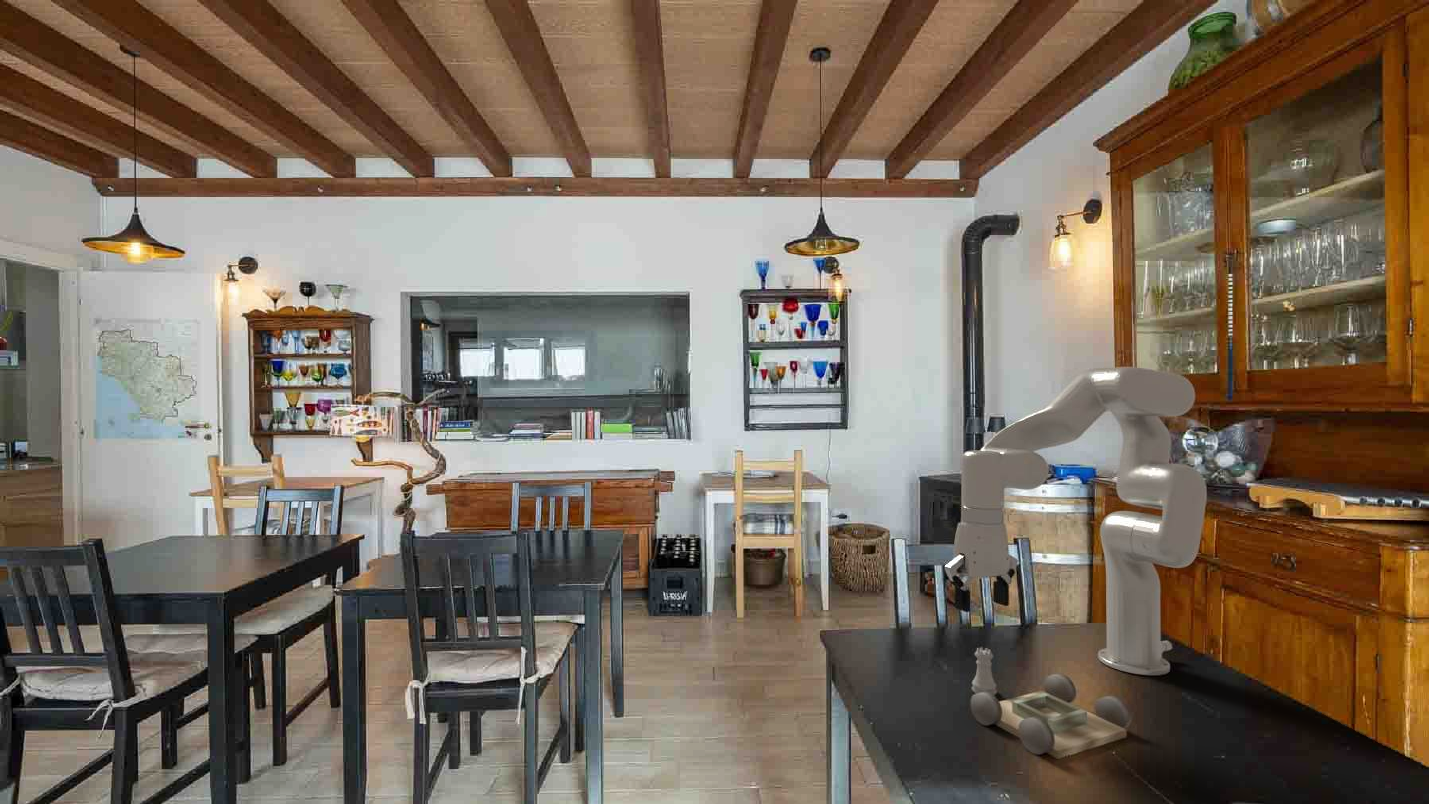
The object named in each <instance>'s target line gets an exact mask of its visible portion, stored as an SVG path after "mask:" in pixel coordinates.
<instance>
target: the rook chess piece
mask: <svg viewBox="0 0 1429 804" xmlns="http://www.w3.org/2000/svg"><path fill="white" fill-rule="evenodd" d="M974 656H975V657H976V658H977V659H976V661H975V663H976V666H977V667H976V673H975V676H974V679H973V680H972V682H971V685H972V687H971V690H972V691H973V693H974V694H977V693H981V692H985V691H987V692H990V693H992V694H993V695H994V696H996V695H997V693H998V690H997V684H996V682H995V680H994V678H993V674H992V666H993V663H992V662H991V661H992V660H993V658H994V654H993V653H992V650H991V649H989V648H988V647H985V648H983V647H980V648H979V647H977V648H976V651H975V652H974Z"/></svg>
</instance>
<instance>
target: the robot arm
mask: <svg viewBox="0 0 1429 804" xmlns="http://www.w3.org/2000/svg"><path fill="white" fill-rule="evenodd" d="M1195 400H1196V391H1195V388H1194V386H1193V384H1192V383H1191V382H1190V380H1189V379H1188V378H1186V377H1185V376H1183V375H1182V374H1179V373H1174V372H1173V373H1172V372H1168V371H1161V370H1156V369H1148V368H1143V367H1136V366H1118V367H1117V366H1116V367H1115V366H1114V367H1098V368H1091V369H1087V370H1084V371H1082V372H1081V373H1080V374H1078V375H1077V376H1076V377H1075V378H1074V379H1072V381H1070V383H1069V384H1067V385H1066V386H1065V387H1064V388H1063V389H1062V390H1061V391H1060V392H1059V393H1058V394H1057V395H1056V396H1055V397H1054V398H1053V399H1051V401H1050V402H1048V403H1047V405H1046V406H1045V407H1043V408H1042V409H1040V410H1039V411H1036V412H1034V413H1031V414H1030V415H1027V416H1026V417H1023V418H1022V419H1019V420H1017V421H1015V422H1014V423H1011V424H1010V425H1007V426H1005V427H1004V428H1002V429H1001V430H999V431H998V432H997V433H996V434H994V435H993V436H992V437H991V438H990V439H989V440H988V441H987V442H986V443H985V444H984V445H983V446H982V447H981V449H980V450H979V449H978V450H977V449H976V450H967V451H965V452H964V453H963V454H962V455H961V483H960V484H961V487H960V488H961V497H960V498H961V501H960V502H961V503H960V505H961V506H960V507H961V509H960V510H961V512H960V514H961V515H960V516H961V517H960V522H958V523H957V527H956V531H955V537H954V541H953V543H954V544H953V553H952V559H951V561H949V562H948V563H946V564H945V565H944V570H945V573H946V576H947V579H948V581H949V582H950V583H951V586H952V587H953V588H954V607H955V609H956V610H960V611H963V612H964V613H970V611H971V590H969V589H968V588H969V587H970V586H971V584H972V581H973V580H980V579H989V578H994V579H995V580H993V584H992V586H993V587H992V597H993V598H992V601H993V602H994V603H995V604H999V605H1001V606H1002V607H1003V606H1004V607H1009V605H1010V585H1011V584H1012V579H1013V577H1014V576H1015V574H1016V571H1015V570H1016V569H1017V566H1018V564H1019V560H1018V558H1016V557H1015V556H1013V555H1011V554H1010V551H1009V550H1010V549H1009V539H1008V531H1007V527H1006V523H1005V515H1006V510H1005V489H1017V490H1021V491H1022V490H1024V491H1026V490H1027V491H1028V490H1034V489H1037V488H1039V487H1041V486H1042V485H1043V484H1044V483H1045V481H1047V479H1048V476H1049V473H1050V472H1049V471H1050V470H1049V464H1048V462H1047V461H1046V459H1045V458H1044V457H1043V456H1042V455H1041V454H1039V453H1037V451H1040V450H1043V449H1044V450H1045V449H1047V448H1053V447H1059V446H1063V445H1065V444H1068V443H1069V444H1070V443H1071V442H1074V441H1076V440H1078V439H1079V438H1081V436H1082V435H1084V433H1086V431H1088V429H1089V428H1090V427H1091V426H1093V424H1094V423H1095V422H1097V420H1098V419H1099V418H1100V417H1101V416H1102V415H1103V414H1105V412H1108V411H1109V412H1111V414H1112V416H1114V418H1115V420H1116V421H1117V423H1118V424H1119V427H1120V429H1121V433H1122V446H1121V452H1120V459H1119V464H1118V472H1117V478H1116V493H1117V496H1118V497H1119V499H1121V500H1122V501H1123V502H1125V503H1127V504H1130V505H1133V506H1138V507H1144V508H1150V509H1154V510H1155V509H1156V510H1162V515H1161V516H1160V515H1155V514H1151V513H1144V512H1138V511H1132V510H1130V511H1129V510H1117V511H1113V512H1111V513H1109V514H1107V515H1106V516H1105V517H1104V519H1103V520H1102V522H1101V525H1100V528H1099V536H1100V542H1101V546H1102V550H1103V555H1104V562H1105V563H1104V564H1105V583H1106V584H1105V585H1106V586H1105V587H1106V588H1105V591H1106V592H1105V593H1106V594H1105V595H1106V596H1105V597H1106V599H1105V601H1106V602H1105V604H1106V607H1105V609H1106V612H1105V613H1106V618H1105V619H1106V622H1105V623H1106V647H1105V648H1102V649H1100V650H1099V651H1098V652H1097V653H1098V654H1097V656H1098V660H1099V661H1100V662H1101V663H1103V664H1104V665H1106V666H1108V667H1110V668H1112V669H1116V670H1118V671H1121V672H1126V673H1129V674H1134V675H1142V676H1162V675H1166V674H1168V673H1169V672H1170V671H1171V664H1170V663H1169V661H1168V660H1167V659H1166V658H1164V657H1163V654H1164V652H1165V651H1166V652H1167V651H1170V650H1172V649H1173V644H1172V642H1170V641H1169V640H1162V641H1161V580H1160V578H1159V577H1160V576H1159V574H1158V572H1157V569H1156V567H1155V566H1154V565H1155V564H1156V565H1160V566H1164V567H1167V568H1168V567H1169V568H1175V569H1181V568H1182V569H1183V568H1186V567H1188V566H1189V565H1191V564H1192V563H1193V562H1194V561H1195V559H1196V557H1197V555H1198V552H1199V549H1200V543H1201V539H1202V533H1203V532H1202V531H1203V525H1204V518H1205V512H1206V507H1207V497H1208V495H1207V492H1208V491H1207V485H1206V481H1205V478H1204V477H1203V475H1202V474H1201V473H1200V471H1199V470H1197V469H1196V468H1194V467H1193V466H1190V465H1187V464H1184V463H1183V464H1182V463H1171V462H1170V456H1171V447H1172V439H1171V436H1170V432H1169V431H1168V428H1167V427H1166V425H1165V424H1164V423H1163V421H1162V420H1161V418H1162V417H1165V418H1170V417H1171V418H1173V417H1174V418H1176V417H1180V416H1183V415H1184V414H1186V413H1188V412H1189V411H1190V410H1191V409H1192V407H1193V405H1194V403H1195Z"/></svg>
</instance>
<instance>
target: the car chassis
mask: <svg viewBox="0 0 1429 804" xmlns="http://www.w3.org/2000/svg"><path fill="white" fill-rule="evenodd" d="M1075 686H1076V685H1074V682H1073V681H1072V679H1070V677H1068V675H1065V674H1063V673H1056V674H1055V673H1054V674H1050V675H1048V676H1046V677H1045V679H1044V682H1043V687H1044V691H1043V690H1039V691H1035V692H1032V693H1028V694H1023V695H1020V696H1016V697H1012V698H1009V699H1005V700H1000V701H999V699H998V698H997V697H996V695H993V694H992V693H990V692H987V691H985V692H981V693H977V694H975V693H974V694H973V695H972V696H971V697H970V701H969V702H970V704H969V705H970V709H971V712H972V715H973V717H974V719H975V720H976V721H977V722H978V723H980V725H983V726H990V725H996V726H997V727H999V728H1001V729H1003V730H1004V731H1006V732H1008V733H1009V734H1012V735H1013V736H1015V737H1017V738H1019V739H1020V741H1021V743H1022V745H1023V746H1024V747H1025V749H1026V750H1027V751H1029V752H1030V753H1032V754H1034V755H1042V754H1045V753H1046V754H1048V755H1049V756H1051V755H1052V756H1051V757H1053V756H1054V757H1053V758H1055V759H1057V760H1059V759H1063V758H1065V756H1066V757H1069V756H1072V755H1075V754H1079V753H1081V752H1085V751H1088V750H1091V749H1094V748H1097V747H1101V746H1103V745H1107V744H1109V743H1112V742H1113V743H1114V742H1115V741H1118V740H1121V739H1125V738H1127V736H1128V735H1127V734H1128V733H1127V731H1128V730H1127V729H1126V728H1127V727H1129V726H1130V725H1131V722H1132V713H1131V709H1130V708H1129V706H1128V705H1127V703H1126V702H1125V701H1124V700H1123V699H1122V698H1120V697H1118V696H1117V695H1116V696H1115V695H1107V696H1103V697H1100V698H1098V699H1097V700H1096V701H1095V704H1094V711H1095V714H1093V713H1091V712H1089V711H1087V710H1085V709H1083V708H1080V707H1078V706H1076V705H1073V704H1072V703H1073V702H1074V701H1075V699H1076V697H1077V689H1076V687H1075ZM1078 752H1079V753H1078ZM1068 755H1069V756H1068ZM1062 757H1063V758H1062Z"/></svg>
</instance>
